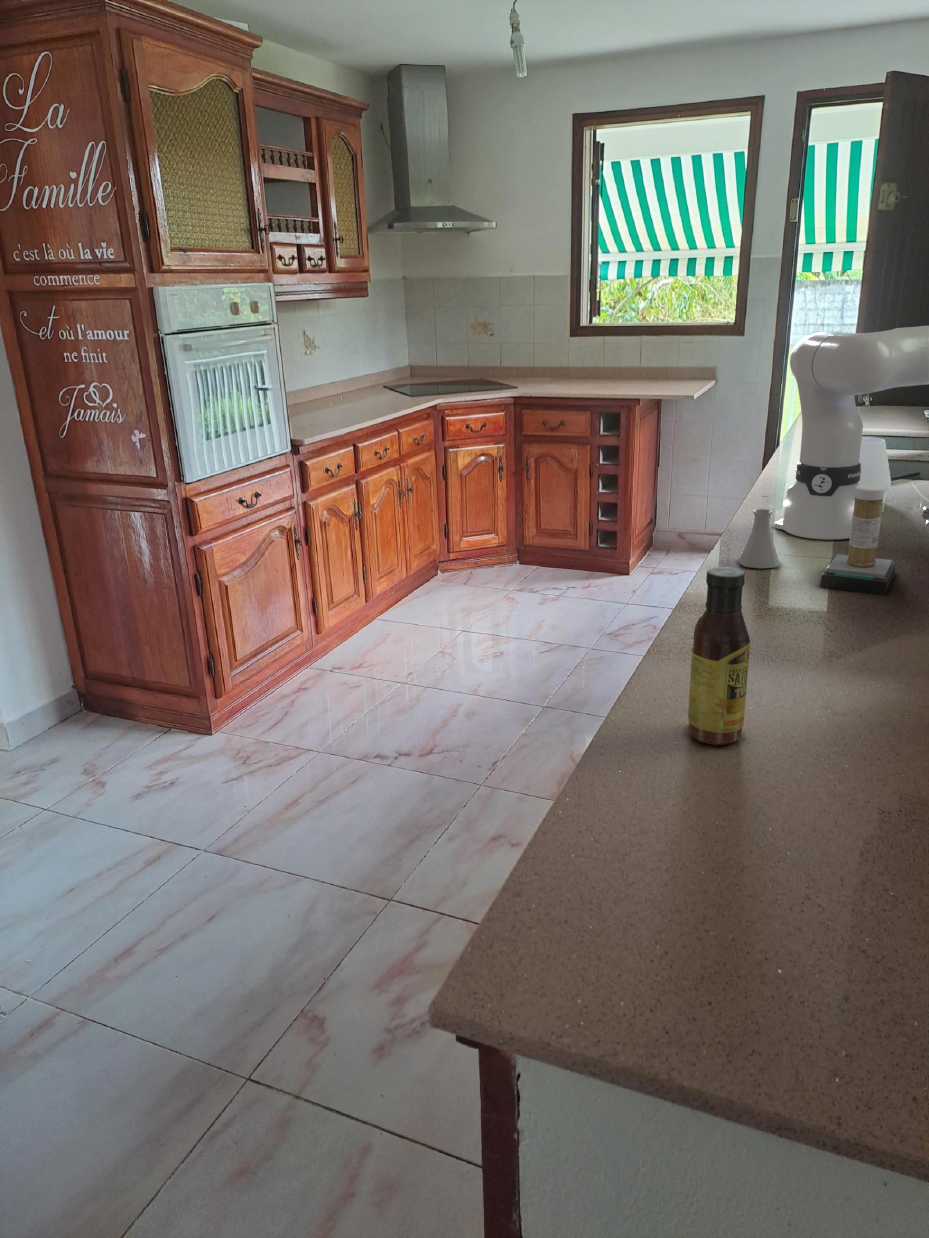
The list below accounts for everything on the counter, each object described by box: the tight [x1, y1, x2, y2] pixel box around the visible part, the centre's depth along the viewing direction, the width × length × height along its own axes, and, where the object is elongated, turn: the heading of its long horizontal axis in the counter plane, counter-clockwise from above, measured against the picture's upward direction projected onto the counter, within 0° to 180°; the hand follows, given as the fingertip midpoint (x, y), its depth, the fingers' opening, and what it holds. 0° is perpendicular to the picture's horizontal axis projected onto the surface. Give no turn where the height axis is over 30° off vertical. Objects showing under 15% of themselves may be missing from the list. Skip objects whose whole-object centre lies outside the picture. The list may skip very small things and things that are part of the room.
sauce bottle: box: [687, 566, 751, 746], centre depth 99 cm, size 6×6×20 cm
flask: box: [738, 508, 780, 569], centre depth 161 cm, size 7×7×10 cm
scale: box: [820, 553, 897, 596], centre depth 151 cm, size 12×10×3 cm
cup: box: [858, 436, 892, 496], centre depth 202 cm, size 13×13×14 cm
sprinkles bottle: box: [847, 484, 886, 567], centre depth 148 cm, size 5×5×14 cm
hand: (923, 519), depth 141 cm, fingers open, 8 cm apart
